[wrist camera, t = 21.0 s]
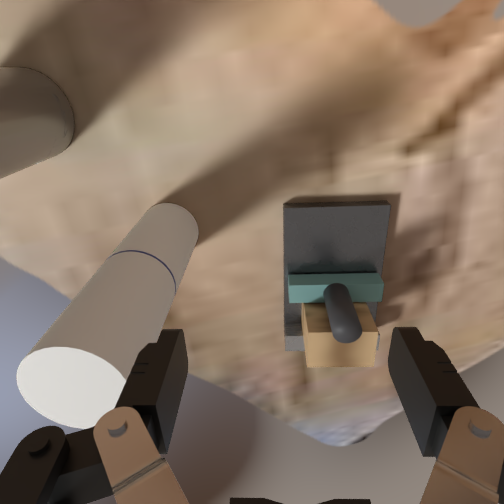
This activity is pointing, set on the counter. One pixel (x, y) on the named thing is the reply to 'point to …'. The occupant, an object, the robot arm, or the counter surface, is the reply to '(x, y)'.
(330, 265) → the vise
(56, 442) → the robot arm
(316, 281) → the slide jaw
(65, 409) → the cylindrical container
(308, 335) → the block
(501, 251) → the counter surface
